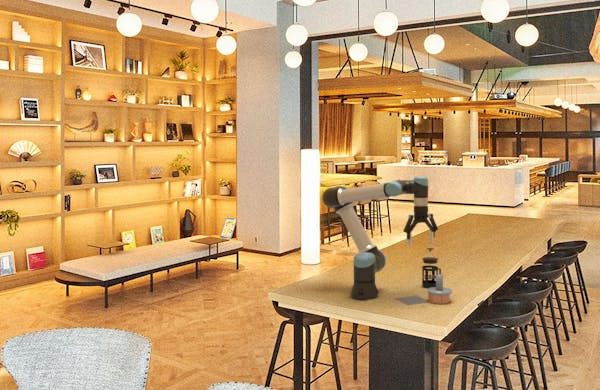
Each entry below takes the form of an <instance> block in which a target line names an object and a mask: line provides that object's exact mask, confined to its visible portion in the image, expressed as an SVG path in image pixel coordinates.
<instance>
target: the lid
mask: <svg viewBox="0 0 600 390" xmlns="http://www.w3.org/2000/svg"><path fill="white" fill-rule="evenodd" d="M435 276H436V279H435V281H436V287H431V288H426V292H427V294H428V293H430V294H435V295H448V294H450V295H451V294H452V292H453V291H452V290H453V289H451V288H449V287H444V275H443V274H442V273H441V274H439V273H438V274H436V273H435Z"/></svg>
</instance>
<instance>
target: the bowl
mask: <svg viewBox="0 0 600 390" xmlns="http://www.w3.org/2000/svg"><path fill="white" fill-rule="evenodd" d="M427 294H428V297H427V298H428V299H427V300H428V301H430V302H429V303H432V304H438V305H447V304H449V303H450V302H451V294H448V295H435V294H430V293H428V292H427Z"/></svg>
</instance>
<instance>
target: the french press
mask: <svg viewBox="0 0 600 390" xmlns="http://www.w3.org/2000/svg"><path fill="white" fill-rule="evenodd" d="M426 250H428V251H429V254H431V252H432V250H434V248H433V247H427V248H426ZM438 260H439V258H438V257H432V256H429V257H428V256H427V257H423V258H422V263H424V264H427V265H422V266H421V269H422V278H421V279H422V280H421V288H423V289H428V288H431V287H436V274H442V268H439V267H438V266H437V265H436V264H438ZM428 264H429V265H428ZM434 264H435V265H434ZM429 272H431V273H429Z"/></svg>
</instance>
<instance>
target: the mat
mask: <svg viewBox="0 0 600 390" xmlns="http://www.w3.org/2000/svg"><path fill="white" fill-rule="evenodd" d="M393 299H395V300H396V301H399V302H400V303H402V304H405V305H407V306H411V305H419V304H426V303H431V302H430V301H428V299H425V298H423V297H421V296H418V295H409V296H402V297H394V298H393Z"/></svg>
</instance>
